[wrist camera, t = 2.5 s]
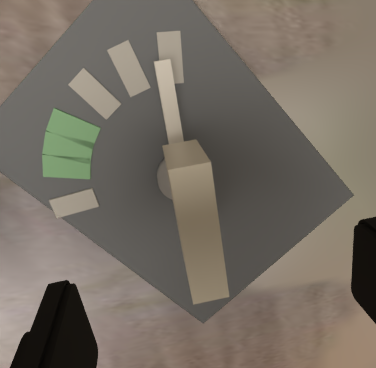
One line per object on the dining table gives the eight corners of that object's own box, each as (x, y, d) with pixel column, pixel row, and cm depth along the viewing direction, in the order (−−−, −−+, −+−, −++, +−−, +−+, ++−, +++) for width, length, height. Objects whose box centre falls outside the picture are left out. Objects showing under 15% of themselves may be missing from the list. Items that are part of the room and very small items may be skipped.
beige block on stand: (209, 214, 25) (243, 293, 17) (166, 223, 25) (179, 307, 16) (185, 55, 21) (215, 56, 13) (134, 64, 21) (129, 71, 12)
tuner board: (345, 189, 27) (355, 196, 26) (199, 314, 30) (202, 326, 29) (143, -52, 20) (143, -60, 19) (-28, 142, 22) (-38, 148, 21)
